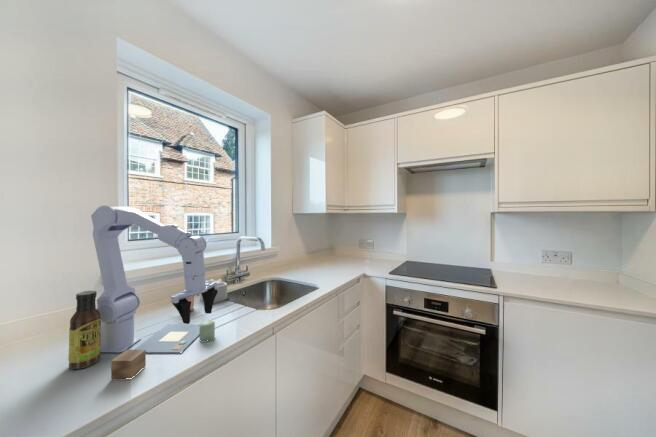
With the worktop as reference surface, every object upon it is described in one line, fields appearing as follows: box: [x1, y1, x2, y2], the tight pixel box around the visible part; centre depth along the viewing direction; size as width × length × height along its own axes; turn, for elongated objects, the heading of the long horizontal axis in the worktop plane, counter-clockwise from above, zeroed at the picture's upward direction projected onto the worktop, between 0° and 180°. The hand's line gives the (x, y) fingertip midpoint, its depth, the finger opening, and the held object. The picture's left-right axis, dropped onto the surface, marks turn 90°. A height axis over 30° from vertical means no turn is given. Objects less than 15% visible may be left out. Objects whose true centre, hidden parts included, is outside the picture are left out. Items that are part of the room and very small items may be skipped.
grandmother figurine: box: [186, 294, 200, 312], centre depth 105 cm, size 8×4×13 cm, turn 143°
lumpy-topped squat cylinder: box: [199, 278, 228, 304], centre depth 120 cm, size 10×13×9 cm
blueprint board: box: [133, 323, 200, 354], centre depth 82 cm, size 15×18×1 cm
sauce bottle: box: [68, 290, 101, 370], centre depth 68 cm, size 6×6×20 cm
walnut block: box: [110, 349, 147, 379], centre depth 64 cm, size 5×5×5 cm
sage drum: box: [198, 320, 216, 342], centre depth 83 cm, size 5×5×5 cm
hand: (197, 317), depth 76 cm, fingers open, 7 cm apart
